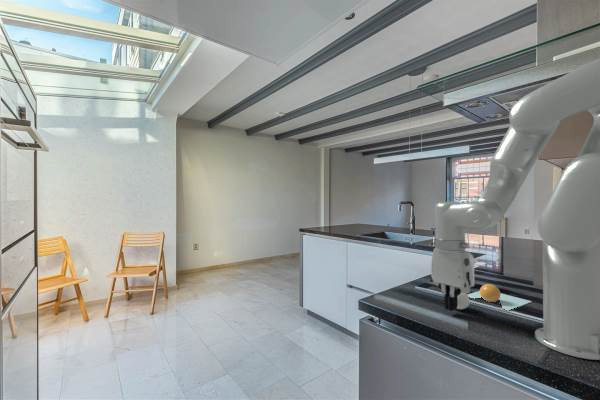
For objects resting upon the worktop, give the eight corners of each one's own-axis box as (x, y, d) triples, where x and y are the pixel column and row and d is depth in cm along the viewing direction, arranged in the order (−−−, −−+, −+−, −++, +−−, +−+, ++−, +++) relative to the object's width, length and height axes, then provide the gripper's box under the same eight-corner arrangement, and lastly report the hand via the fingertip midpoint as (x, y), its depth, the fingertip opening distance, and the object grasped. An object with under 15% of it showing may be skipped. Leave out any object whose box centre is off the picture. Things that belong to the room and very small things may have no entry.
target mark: (531, 302, 90) (531, 301, 90) (508, 311, 83) (508, 310, 83) (485, 289, 102) (485, 289, 102) (461, 296, 95) (461, 296, 95)
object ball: (493, 288, 87) (494, 306, 87) (504, 284, 89) (504, 302, 89) (475, 283, 92) (476, 300, 92) (486, 280, 94) (486, 296, 94)
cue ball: (462, 294, 82) (468, 313, 81) (469, 287, 85) (475, 305, 85) (443, 294, 86) (448, 311, 86) (450, 286, 89) (456, 303, 89)
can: (477, 288, 104) (476, 255, 104) (458, 287, 105) (457, 255, 105) (470, 283, 110) (470, 252, 110) (452, 282, 111) (451, 251, 111)
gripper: (484, 247, 77) (485, 315, 77) (435, 240, 90) (436, 298, 90) (467, 250, 73) (469, 321, 73) (418, 242, 86) (419, 303, 86)
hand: (450, 308), depth 82 cm, fingers closed
